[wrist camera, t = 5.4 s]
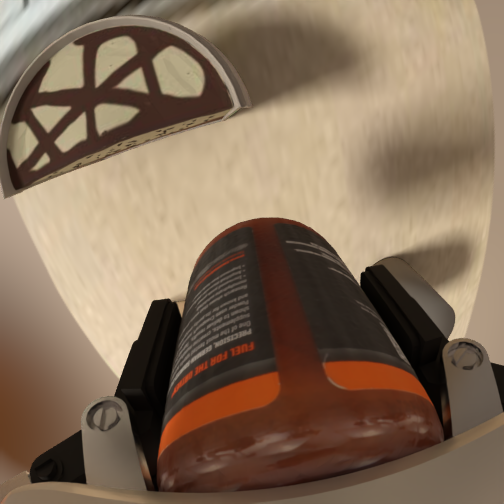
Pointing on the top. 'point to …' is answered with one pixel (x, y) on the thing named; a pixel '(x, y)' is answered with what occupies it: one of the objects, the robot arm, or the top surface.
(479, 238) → the top surface
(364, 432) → the supplement bottle
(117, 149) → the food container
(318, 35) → the top surface
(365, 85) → the top surface
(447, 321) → the gray cylinder
